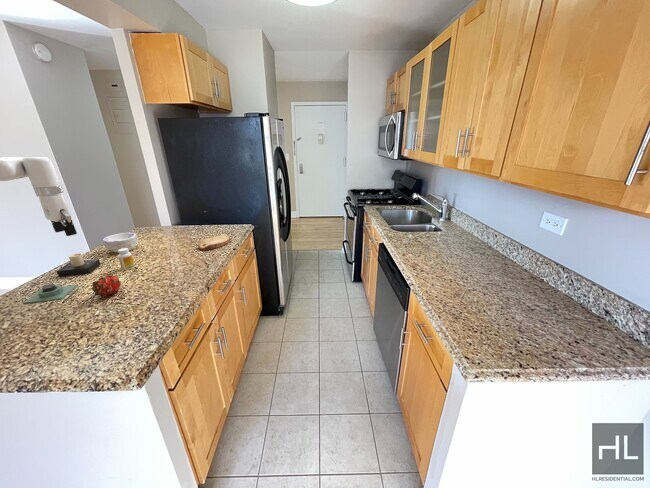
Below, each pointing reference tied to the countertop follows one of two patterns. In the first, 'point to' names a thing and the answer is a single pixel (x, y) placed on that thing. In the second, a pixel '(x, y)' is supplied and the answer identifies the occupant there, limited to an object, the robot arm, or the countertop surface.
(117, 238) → the paper bowls
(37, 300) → the button box
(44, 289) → the button
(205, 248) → the bread slice
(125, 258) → the supplement bottle
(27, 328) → the countertop surface
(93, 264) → the panel
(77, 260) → the knob
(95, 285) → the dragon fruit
